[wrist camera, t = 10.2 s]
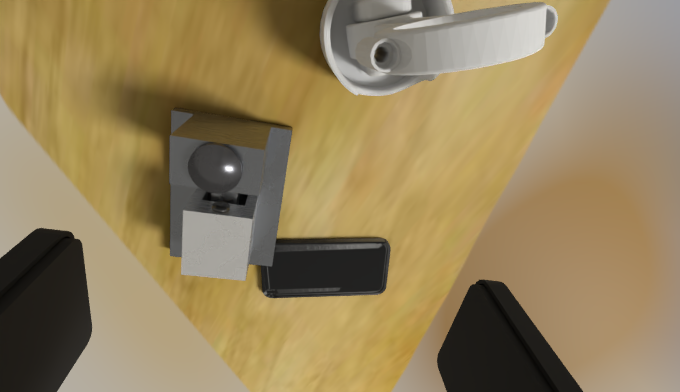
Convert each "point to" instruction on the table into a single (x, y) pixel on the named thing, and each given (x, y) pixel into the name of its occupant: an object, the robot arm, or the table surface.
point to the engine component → (424, 40)
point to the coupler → (228, 171)
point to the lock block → (217, 237)
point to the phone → (327, 268)
